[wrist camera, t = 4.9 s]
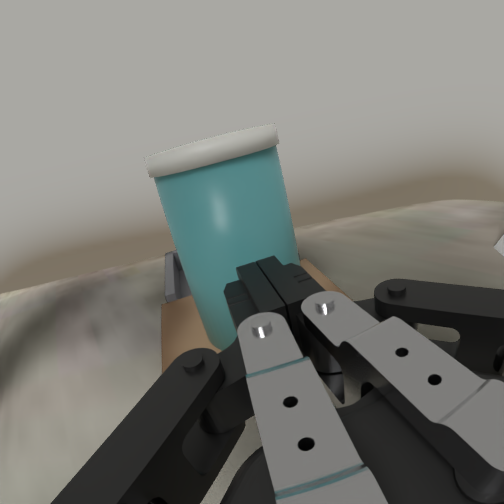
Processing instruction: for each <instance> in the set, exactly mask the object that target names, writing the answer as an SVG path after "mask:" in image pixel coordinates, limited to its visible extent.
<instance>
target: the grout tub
mask: <svg viewBox="0 0 504 504" xmlns="http://www.w3.org/2000/svg"><path fill="white" fill-rule="evenodd" d="M277 144H279V139H278V135H277V130H276V126H275V123H274V124H268V125H262V126H257V127H252V128H248V129H243V130H239V131H234V132H230V133H227V134H222V135H218V136H214V137H211V138H206V139H203V140H199V141H195V142H192V143H189V144H185V145H182V146H178V147H175V148H172V149H169V150H165V151H162V152H159V153H156V154H154V155H150V156H148V157H145V158H144V159H145V163H146V166H147V170H148V173H149V177H151V178H152V177H154V179H155V183H156V186H157V190H158V193H159V196H160V200H161V203H162V206H163V209H164V213H165V216H166V219H167V222H168V225H169V228H170V231H171V235H172V238H173V241H174V244H175V246H176V250H177V253H178V256H179V259H180V262H181V265H182V268H183V270H184V273H185V276H186V279H187V282H188V285H189V288H190V290H191V293H192V296H193V299H194V301H195V304H196V307H197V310H198V312H199V315H200V318H201V320H202V323H203V326H204V328H205V331H206V334H207V336H208V339H209V341H210V342H211V343H212V344H213V345H214V346H215V347H216V348H218V349H220V350H222V351H223V350H225V349H226V348H228V347H229V346H230V345H231V344H232V343H233V342H234V341H235V339H236V337H237V332H236V329H235V327H234V324H233V321H232V318H231V314H230V311H229V308H228V305H227V302H226V299H225V295H224V292H223V291H224V289H225V286H226V284H227V283H230V282H234V281H237V280H239V279H238V276H237V272H236V267H239V266H242V265H245V264H248V263H251V262H255V261H257V260H260V259H264V258H267V257H270V256H273V255H274V256H275V257H276V258H277V259H278V260H279V261H280V262H281V263H282V264H283V265H286V264H289V263H293V264H296V265H299V266H300V261H299V255H298V250H297V245H296V239H295V234H294V229H293V224H292V219H291V214H290V209H289V204H288V199H287V195H286V190H285V185H284V180H283V176H282V171H281V166H280V162H279V157H278V153H277V148H276V145H277Z"/></svg>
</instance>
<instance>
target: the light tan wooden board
mask: <svg viewBox="0 0 504 504" xmlns="http://www.w3.org/2000/svg"><path fill="white" fill-rule="evenodd" d="M299 261H300V266H302V267H303V268H304V269H305V270H306V271H307V273H309V274H310V275H311V276H312V278H314V279H315V280H316V281H317V282H318V283H319V284H320V285H321V286H322V287H323V288H324V289H325V290H326V291H335V292H339V293H342V294H343V295H345V296H346V297H347V298H349V297H348V296H347V295H346V294H345V293H344V292H343V291H341V290H340V289H339V288H338V287H337V286H336V285H335V284H334V283H333V282H331V281H330V280H329V279H328V278H327V277H326V276H325V275H324V274H323V273H321V272H320V271H319V270H318V269H317V268H316V267H315V266H314V265H313V264H311V263H310V262H309V261H308V260H307V259H306V258H305V259H302V260H299ZM349 299H350V298H349ZM350 300H351V299H350ZM351 301H352V300H351ZM161 329H162V374H163V372H164V371H165V370H166V369H167V368H168V367H169V365H170V364H171V363H172V362H173V361H174V360H175V359H176V358H177V357H178V356H179V355H181V354H182V353H184V352H186V351H188V350H191V349H195V348H209V349H212V350H214V351H215V352H216V353H217V354H218V353H220V352H221V351H222V350H220V349H218V348H216V347H215V346H214V345H213V344H212V343H211V342H210V341H209V339H208V336H207V334H206V331H205V328H204V326H203V323H202V320H201V318H200V315H199V312H198V310H197V307H196V304H195V301H194V299H193V296H192V295H191V296H188V297H184V298H181V299H178V300H175V301H171V302H168V303H165V304H162V320H161Z"/></svg>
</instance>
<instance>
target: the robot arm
mask: <svg viewBox="0 0 504 504" xmlns="http://www.w3.org/2000/svg"><path fill="white" fill-rule="evenodd" d="M236 272H237V276H238V279H239V280H237V281H234V282H230V283H227V284H226V286H225V289H224V291H223V292H224V295H225V299H226V302H227V305H228V308H229V311H230V314H231V318H232V321H233V324H234V327H235V329H236V332H237V337H236V339H235V341H234V342H233V343H232V344H231V345H230V346H229V347H228V348H226V349H225V350H223V351H221V352H220V353H218V354H217V353H216V352H215V351H214V350H212V349H209V348H195V349H191V350H188V351H186V352H184V353H182V354H181V355H179V356H178V357H177V358H176V359H175V360H174V361H173V362H172V363H171V364H170V365H169V367H168V368H167V369H166V370H165V371H164V372H163V374H162V375H161V376H160V377H159V378H158V380H157V381H156V382H155V383H154V384H153V385H152V387H151V388H150V389H149V390H148V391H147V392H146V394H145V395H144V396H143V397H142V398H141V400H140V401H139V402H138V403H137V404H136V405H135V407H134V408H133V409H132V410H131V411H130V412H129V414H128V415H127V416H126V417H125V418H124V419H123V421H122V422H121V423H120V424H119V425H118V426H117V428H116V429H115V430H114V431H113V432H112V433H111V435H110V436H109V437H108V438H107V439H106V440H105V442H104V443H103V444H102V445H101V446H100V447H99V448H98V450H97V451H96V452H95V453H94V454H93V455H92V457H91V458H90V459H89V460H88V461H87V462H86V464H85V465H84V466H83V467H82V468H81V469H80V470H79V472H78V473H77V474H76V475H75V476H74V477H73V478H72V480H71V481H70V482H69V483H68V484H67V485H66V487H65V488H64V489H63V490H62V491H61V492H60V493H59V495H58V496H57V497H56V498H55V499H54V500H53V501H52V502H51V504H200V503H201V501H202V500H203V498H204V497H205V495H206V493H207V492H208V490H209V489H210V487H211V485H212V484H213V482H214V480H215V479H216V477H217V475H218V474H219V472H220V470H221V469H222V467H223V465H224V464H225V462H226V460H227V459H228V457H229V455H230V453H231V452H232V450H233V448H234V446H235V445H236V443H237V441H238V439H239V438H240V436H241V434H242V432H243V430H244V428H245V420H247V419H249V418H250V417H252V416H253V415H255V417H256V422H257V426H258V430H259V434H260V437H261V441H262V445H263V446H262V447H260V448H259V449H257V450H256V451H255V452H254V453H253V454H252V455H251V456H250V457H249V458H248V459H247V460H246V461H245V462H244V463H243V464H242V466H241V467H240V468H239V470H238V471H237V473H236V474H235V476H234V478H233V480H232V482H231V484H230V486H229V487H228V489H227V491H226V493H225V495H224V497H223V499H222V501H221V503H220V504H504V290H501V289H491V288H482V287H472V286H463V285H453V284H444V283H434V282H425V281H416V280H407V279H391V280H387V281H384V282H382V283H380V284H379V285H378V286H377V287H376V288H375V290H374V298H373V299H367V300H362V301H355V302H353V301H351V300H350V299H349V298H347V297H346V296H345V295H343V294H342V293H339V292H335V291H326V290H325V289H324V288H323V287H322V286H321V285H320V284H319V283H318V282H317V281H316V280H315V279H314V278H312V276H311V275H310V274H309V273H307V271H306V270H305V269H304V268H303V267H302V266H299V265H296V264H293V263H289V264H286V265H283V264H282V263H281V262H280V261H279V260H278V259H277V258H276V257H275V256H274V255H273V256H270V257H267V258H264V259H260V260H257V261H255V262H251V263H248V264H245V265H242V266H239V267H236ZM417 323H421V324H428V325H435V326H442V327H449V328H453V329H455V330H457V331H458V332H459V334H460V339H459V340H458V341H456V342H444V341H437V340H431V339H427V338H426V337H424V336H423V335H422V334H420V333H419V332H417ZM332 402H333V403H334V405H335V406H336V407H337V408H336V409H335V407H334V405H333V403H332Z"/></svg>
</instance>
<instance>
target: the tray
mask: <svg viewBox="0 0 504 504" xmlns="http://www.w3.org/2000/svg"><path fill="white" fill-rule="evenodd" d="M298 255H299V253H298ZM299 260H300V258H299ZM191 295H192V293H191V290H190V288H189V285H188V282H187V279H186V276H185V273H184V270H183V268H182V265H181V262H180V259H179V256H178V253H177V250H175V251H172V252H169V253H166V254H165V298H166V300H167V303H168V302H171V301H175V300H178V299H181V298H184V297H188V296H191Z"/></svg>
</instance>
